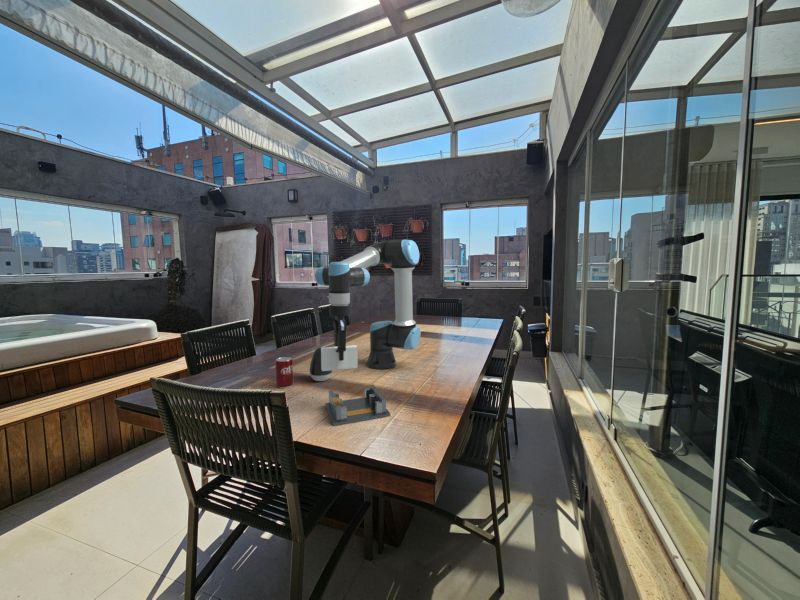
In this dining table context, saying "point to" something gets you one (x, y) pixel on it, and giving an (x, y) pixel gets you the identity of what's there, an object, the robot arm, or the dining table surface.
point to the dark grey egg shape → (318, 367)
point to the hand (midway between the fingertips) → (340, 366)
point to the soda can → (284, 372)
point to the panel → (331, 358)
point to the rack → (356, 407)
